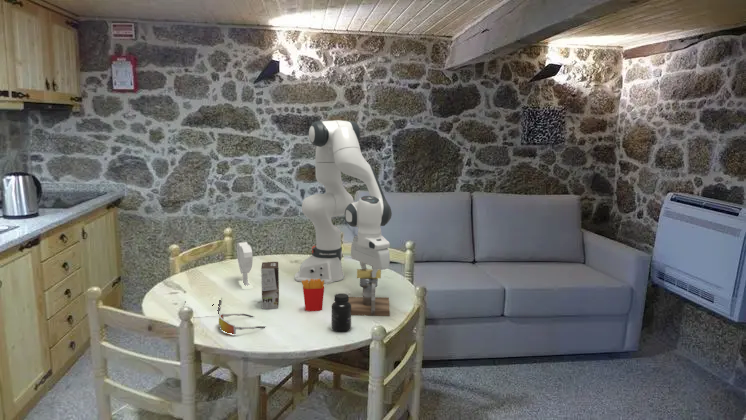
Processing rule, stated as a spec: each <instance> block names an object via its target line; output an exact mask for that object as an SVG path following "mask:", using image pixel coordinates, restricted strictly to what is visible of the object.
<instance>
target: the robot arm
mask: <svg viewBox="0 0 746 420" xmlns="http://www.w3.org/2000/svg"><path fill="white" fill-rule="evenodd" d="M308 138H309V141H310V143H311V144H312V145H313V146H316V149H315V162H314V163H315V164H314V165H315V179H316V181H317V182H318V184H319V183H320V184H321V185H323V186H324V189H325V193H316V194H315V193H314V194H312V195H308V196H306V197H305V198H304V199H303V201H302V203H301V204H302V205H301V210H302V213H303V215H304V216H305V218H307V219H308V220H309V221H310V222H311V223H312V224H313V227H314V231H315V243H316V245H313V246H312V247H311V255H310V256H309V257H308V258H306V259H305V260H303V261H302V262H301V263H300V266H299V269H298V270H299V271H297V272H295V274H294V280H295V281H296V282H301V283H302V281H305V280H308V283H309V281H310V279H314V280H315V279H320V280H321V282H322V281H323V280H324V285H326V284H327V285H328V284H330V283H333V282H338V281H341V280H343V279H344V278H345V275H344V272H343V270H344V269H343V265H342V258H343V249H342V244H341V243H342V241H341V240H342V238H341V237H342V233H341V229H340V228H339V227H337V226H336V225H334V224H333V221H332V218H335V217H343V216H344V220H345V222H346V223H347V224H348V225H349V226H350V227H352V228H353V227H354V228H358V229H357V235H354V237H353V238H352V242H351V248H350V256H351V257H350V258H351V259H353V260H355V261H358V262H359V265H360V268H361V269H368V268H367V266H369V267H371V269H373V270H372V272H370V276H371V277H373V278H374V277H376V273H377V271H378V269H380V270H381V271H383V270H387V269H389V268H390V260H391V259H390V258H391V257H390V250H389V248H390V246H391V244H390V241H388V240H387V238H385V237H384V236H383V235H382V228H381V227H384V226H386V225H387V224H388V223H389V221H390V220H391V219H392V215H393V214H392V212H393V211H392V209H391V206H390V204H389V203H388V201H387V199H386V197H385V194H384V191H383V189H382V187H381V184H380V182H379V179H378V176H377V174H376V171H375V169H374V167H373V165H372V164H370V163H369V162H367V160H366V158H365V157H364V156H363V154H362V150H361V147H360V143H359V142H360V138H361V128H360V126H359V123H357V122H355V121H352V120H341V119H334V120H324V121H322V120H318V121H313V122H312V123H311V125H310V126H309V129H308ZM342 174H344V175H346V176H349V177H353V178H355V179H358V180H360V181H361V182H363V183H364V184H365V185H366V188H367V190H368V193H369V195H363V196H361V197H360V198H359V200H357V201H354V200H355V199H354V197H353V196H352V194H351V193H349V192H348V191H347V189H346V188H345V186H344V183H343V181H342V180H343V179H342Z"/></svg>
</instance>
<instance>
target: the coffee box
mask: <svg viewBox="0 0 746 420" xmlns="http://www.w3.org/2000/svg"><path fill="white" fill-rule="evenodd" d="M260 272H261V274H260V275H261V309H262V310H269V309H271V310H272V309H276V310H277V309H279V305H280V276H279V275H280V272H279V261H265V262H264V261H263V262H261V269H260Z"/></svg>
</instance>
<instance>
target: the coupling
mask: <svg viewBox="0 0 746 420" xmlns="http://www.w3.org/2000/svg"><path fill="white" fill-rule="evenodd" d="M372 270H373V269H372V268H371V269H368V268H367V269H362V268H361V269H360V268H357V269H356V279H359V287H361V288H362V289H363V288H367V290H371V288H372V282H376V287H375V288H377V287H378V286H379V283H378V281H379V279H382V270H380V269H378V271H377V273H376V277H374V278H373V277H371V276H370V272H372Z"/></svg>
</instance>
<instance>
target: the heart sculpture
mask: <svg viewBox="0 0 746 420" xmlns="http://www.w3.org/2000/svg"><path fill="white" fill-rule="evenodd" d="M236 257H237V262H238V267H239V272H240V274H242V280H243V283H244V285H245V286H246V285H247V286H248V285H250V284H249V283H248V280H249V279H248V278H249V277H248V274H249V273H250V272H251V270H252V267H253V250H252V246H251V245H250V244H248V242H247V241H244V242H242V241H241V242H237V243H236Z"/></svg>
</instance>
